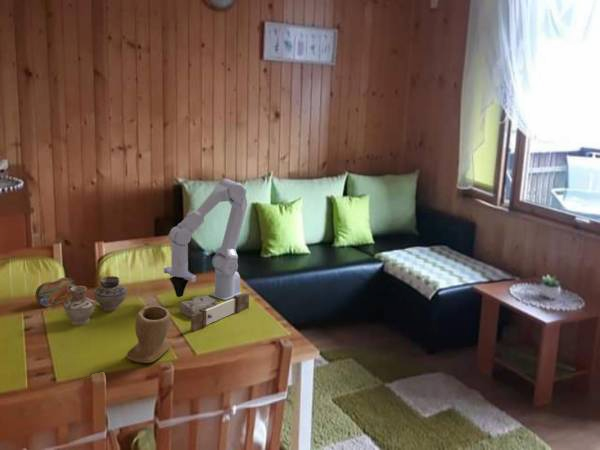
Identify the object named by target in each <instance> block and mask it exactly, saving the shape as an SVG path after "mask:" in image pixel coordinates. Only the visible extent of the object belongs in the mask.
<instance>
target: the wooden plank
mask: <svg viewBox="0 0 600 450" xmlns="http://www.w3.org/2000/svg"><path fill="white" fill-rule="evenodd" d="M233 298H236V312H235V313H236V314H239V313H240V312H242V311H245V310H247V309H249V307H250V293H248V292H244V293H242V294H240V295H235V296H234V297H233ZM206 328H207V325H206V310H204V309H200V310H199V312H197V313H194V314H192V315H191V317H190V331H191V332H197V331H200V330H202V329H206Z"/></svg>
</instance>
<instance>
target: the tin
mask: <svg viewBox="0 0 600 450" xmlns="http://www.w3.org/2000/svg"><path fill="white" fill-rule="evenodd" d="M75 286H78V284H77V282H76V280H74V278H71V277H60V278H57V279H54V280H51V281H47V282H46V281H45V282H44V283H41V284H40V285H39V286H38V287H37V288H36V289H35V300H36V302H37V303H38V304H39V305H41V306H43V307H46V308H49V307H52V306H56V305H58V304H63V303H65V302H67V301H68V300H69V299H71V298H72V293H71V290H70V289H71V288H72V287H75Z"/></svg>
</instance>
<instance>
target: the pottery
mask: <svg viewBox="0 0 600 450" xmlns="http://www.w3.org/2000/svg"><path fill="white" fill-rule="evenodd" d="M70 290H71V293H72V298H71V299H69V300H68V301H66V302H63V305H62V307H63V309H64V312H65V313H66V316H67V317H68V318H69V319H71V325H74V326H84V325H88V324H89V323H90V322H91V320H90V317H92V315H93V313H94V311H95V308H96V302H97V304H99V305H101V307H102V309H103V310H104V311H108V312H109V311H110V312H111V311H116V310H119V308H120V305H121V304H122V303H123V302H124V301H125V299H126V297H127V294H128V289H127V288H126V286H123V285H121V284H120V278H119V277H118V276H116V275H115V276H114V275H110V276H109V275H108V276H104V277H101V279H100V285H99V286H97V287H96V288H95V289H94V290H93V295H94V296H93V297H94V300H93V299H91V298H90V297H87V291H88V287H87V286H85V285H77V286H75V287H72V288H71V289H70ZM95 300H96V301H95Z"/></svg>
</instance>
